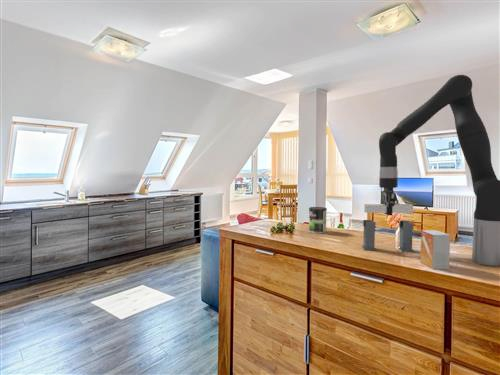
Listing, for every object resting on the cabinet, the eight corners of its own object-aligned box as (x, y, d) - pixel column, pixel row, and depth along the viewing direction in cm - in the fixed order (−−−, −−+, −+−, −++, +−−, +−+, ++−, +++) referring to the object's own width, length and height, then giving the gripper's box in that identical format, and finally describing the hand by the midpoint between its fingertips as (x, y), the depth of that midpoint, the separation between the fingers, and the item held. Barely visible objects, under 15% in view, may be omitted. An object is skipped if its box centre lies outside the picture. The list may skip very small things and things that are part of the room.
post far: (372, 247, 140) (373, 220, 139) (376, 250, 134) (376, 222, 133) (361, 246, 140) (362, 219, 140) (364, 250, 135) (365, 222, 134)
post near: (408, 248, 137) (409, 220, 136) (413, 252, 131) (414, 223, 130) (397, 248, 138) (398, 220, 137) (401, 251, 132) (402, 222, 131)
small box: (419, 262, 117) (420, 230, 116) (435, 262, 117) (437, 230, 116) (432, 269, 109) (433, 234, 108) (449, 269, 109) (450, 234, 108)
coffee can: (315, 233, 169) (316, 209, 168) (305, 230, 178) (305, 207, 177) (330, 232, 173) (330, 208, 172) (319, 229, 182) (319, 206, 181)
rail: (410, 211, 135) (410, 204, 135) (413, 212, 131) (413, 205, 131) (364, 211, 138) (364, 204, 138) (366, 212, 135) (366, 205, 134)
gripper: (402, 177, 126) (402, 217, 127) (392, 176, 140) (392, 212, 141) (384, 177, 127) (383, 217, 128) (375, 176, 141) (375, 212, 142)
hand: (388, 214), depth 135 cm, fingers closed on rail, 3 cm apart
